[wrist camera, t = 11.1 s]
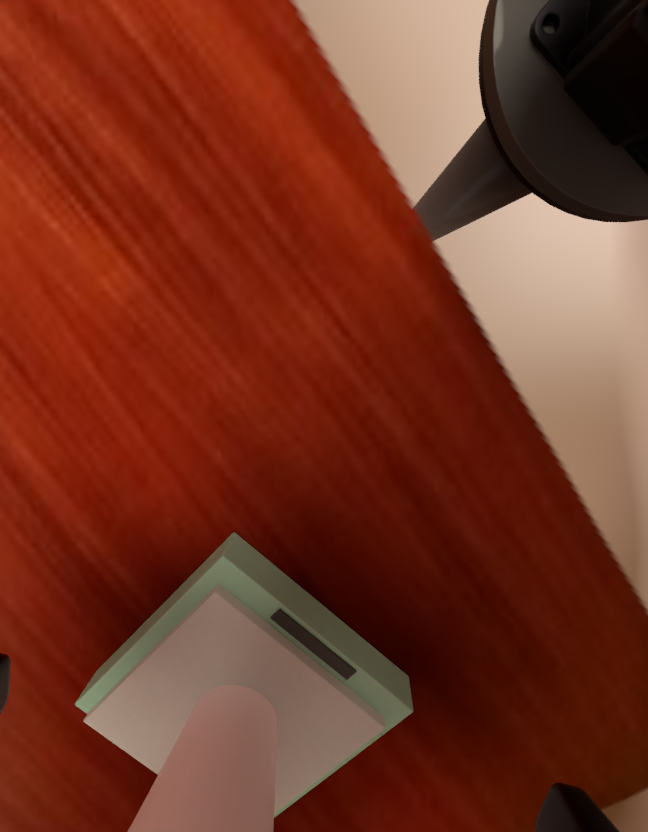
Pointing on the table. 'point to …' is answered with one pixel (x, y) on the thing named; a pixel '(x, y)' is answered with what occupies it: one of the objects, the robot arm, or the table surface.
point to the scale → (249, 671)
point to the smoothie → (218, 768)
